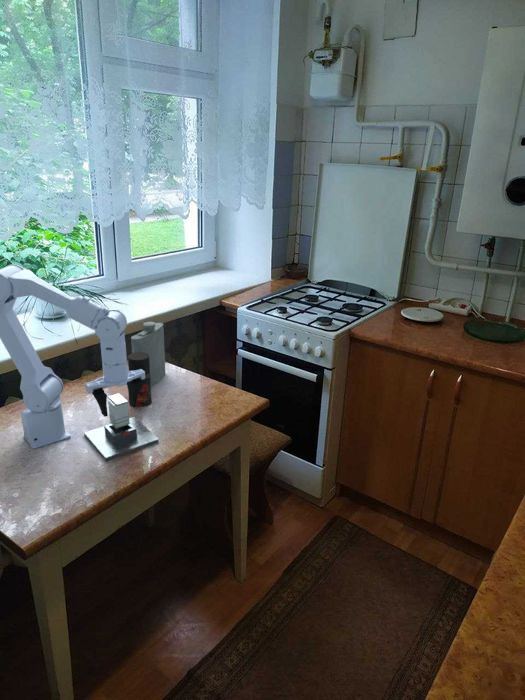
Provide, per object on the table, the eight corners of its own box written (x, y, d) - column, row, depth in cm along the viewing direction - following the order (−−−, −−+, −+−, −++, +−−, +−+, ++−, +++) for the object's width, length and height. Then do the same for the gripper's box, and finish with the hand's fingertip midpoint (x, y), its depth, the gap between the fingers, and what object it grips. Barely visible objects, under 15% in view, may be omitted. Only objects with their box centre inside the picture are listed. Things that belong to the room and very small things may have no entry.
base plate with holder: (105, 461, 118) (104, 448, 117) (84, 435, 128) (83, 424, 127) (158, 442, 127) (158, 430, 125) (134, 419, 137) (133, 408, 135)
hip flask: (158, 371, 167) (156, 314, 159) (169, 373, 166) (167, 316, 158) (132, 391, 153) (128, 330, 145) (144, 393, 152) (140, 332, 144)
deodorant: (154, 398, 148) (151, 352, 143) (148, 408, 143) (145, 360, 137) (135, 397, 149) (131, 351, 143) (128, 406, 143) (124, 359, 138)
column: (117, 429, 123) (115, 404, 120) (108, 421, 127) (106, 396, 124) (131, 425, 125) (129, 400, 122) (122, 416, 129) (120, 392, 126)
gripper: (91, 373, 112) (96, 425, 117) (149, 359, 121) (152, 408, 126) (80, 363, 117) (85, 413, 122) (136, 350, 126) (140, 398, 131)
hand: (118, 410), depth 124 cm, fingers open, 7 cm apart
